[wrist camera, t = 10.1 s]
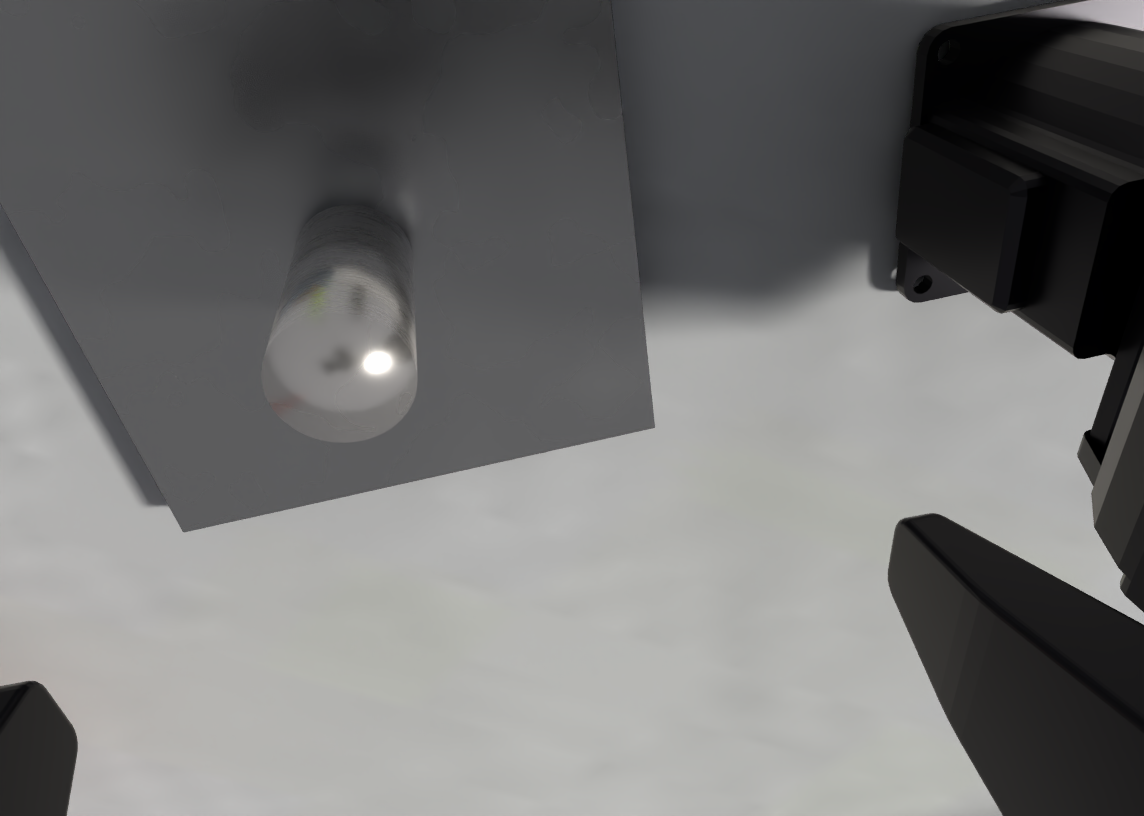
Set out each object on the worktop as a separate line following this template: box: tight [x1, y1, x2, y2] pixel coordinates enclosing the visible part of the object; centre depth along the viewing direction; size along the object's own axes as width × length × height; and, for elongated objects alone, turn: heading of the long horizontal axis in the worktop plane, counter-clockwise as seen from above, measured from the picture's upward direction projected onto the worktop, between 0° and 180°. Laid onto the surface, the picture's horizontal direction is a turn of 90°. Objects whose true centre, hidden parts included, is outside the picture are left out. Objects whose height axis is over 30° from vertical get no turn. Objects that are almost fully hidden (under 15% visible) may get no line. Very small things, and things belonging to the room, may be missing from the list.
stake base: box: [0, 0, 655, 532], centre depth 15 cm, size 12×12×6 cm
